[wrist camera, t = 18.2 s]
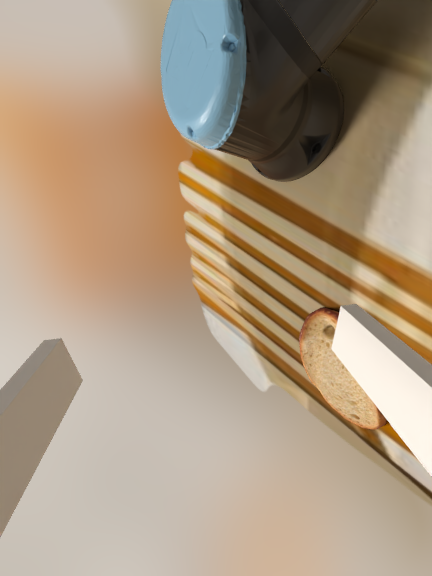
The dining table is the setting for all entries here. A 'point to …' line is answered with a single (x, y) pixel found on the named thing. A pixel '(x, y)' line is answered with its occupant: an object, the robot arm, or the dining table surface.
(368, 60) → the dining table surface
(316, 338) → the slice of bread
